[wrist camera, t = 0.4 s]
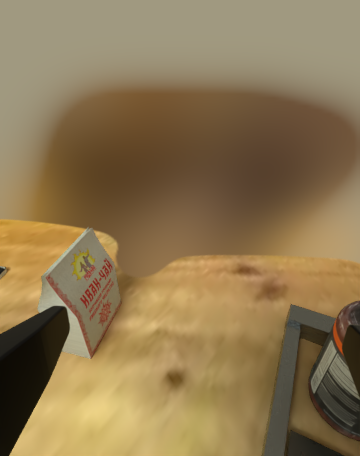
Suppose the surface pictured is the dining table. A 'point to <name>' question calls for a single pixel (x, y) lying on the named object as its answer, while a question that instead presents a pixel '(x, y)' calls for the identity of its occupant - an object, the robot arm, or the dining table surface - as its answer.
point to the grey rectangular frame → (281, 400)
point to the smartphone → (2, 271)
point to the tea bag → (83, 292)
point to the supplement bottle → (337, 379)
